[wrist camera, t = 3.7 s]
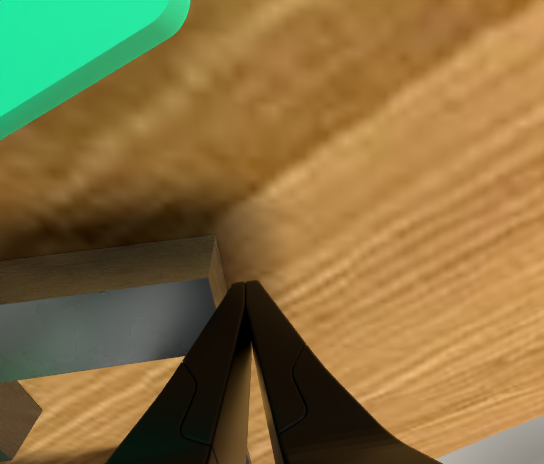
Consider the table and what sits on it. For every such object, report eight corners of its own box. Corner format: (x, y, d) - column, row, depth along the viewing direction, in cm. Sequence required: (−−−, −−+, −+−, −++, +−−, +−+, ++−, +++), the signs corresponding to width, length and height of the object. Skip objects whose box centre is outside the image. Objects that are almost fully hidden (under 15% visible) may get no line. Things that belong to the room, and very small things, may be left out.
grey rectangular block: (228, 297, 11) (226, 349, 9) (26, 325, 11) (-30, 387, 8) (215, 234, 10) (208, 278, 7) (-20, 263, 9) (-100, 318, 7)
